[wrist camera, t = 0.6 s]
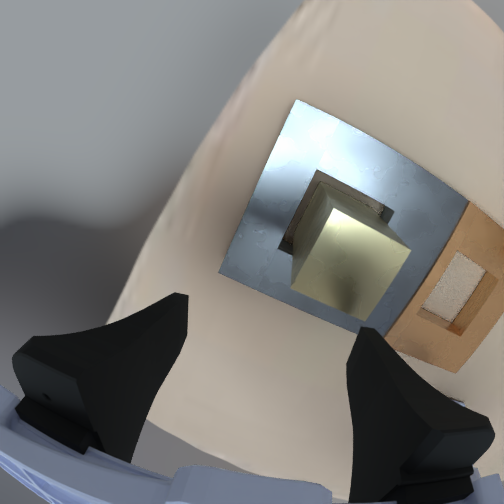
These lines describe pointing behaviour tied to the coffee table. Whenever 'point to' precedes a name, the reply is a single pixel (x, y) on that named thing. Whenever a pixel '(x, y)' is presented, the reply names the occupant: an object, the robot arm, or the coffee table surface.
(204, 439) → the coffee table surface
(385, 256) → the brass peg
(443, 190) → the peg hole board
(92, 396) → the robot arm
